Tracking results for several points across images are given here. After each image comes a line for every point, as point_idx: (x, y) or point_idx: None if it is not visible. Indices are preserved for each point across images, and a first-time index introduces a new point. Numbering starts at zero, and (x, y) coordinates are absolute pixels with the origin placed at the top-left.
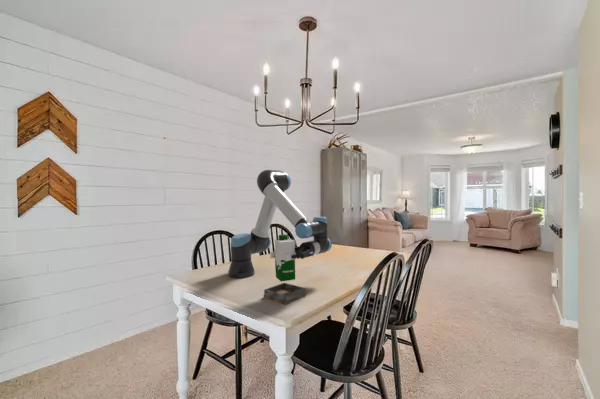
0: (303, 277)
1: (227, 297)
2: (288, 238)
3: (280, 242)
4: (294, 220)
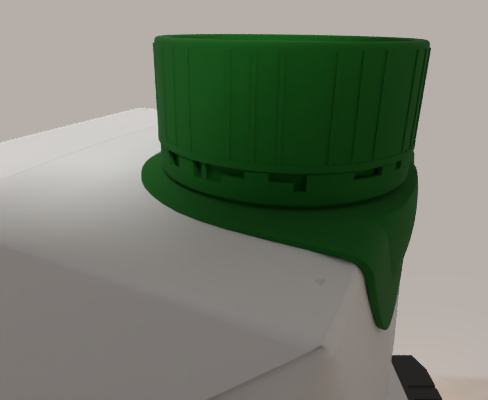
0: None
1: (463, 392)
2: (334, 313)
3: (135, 111)
4: None
